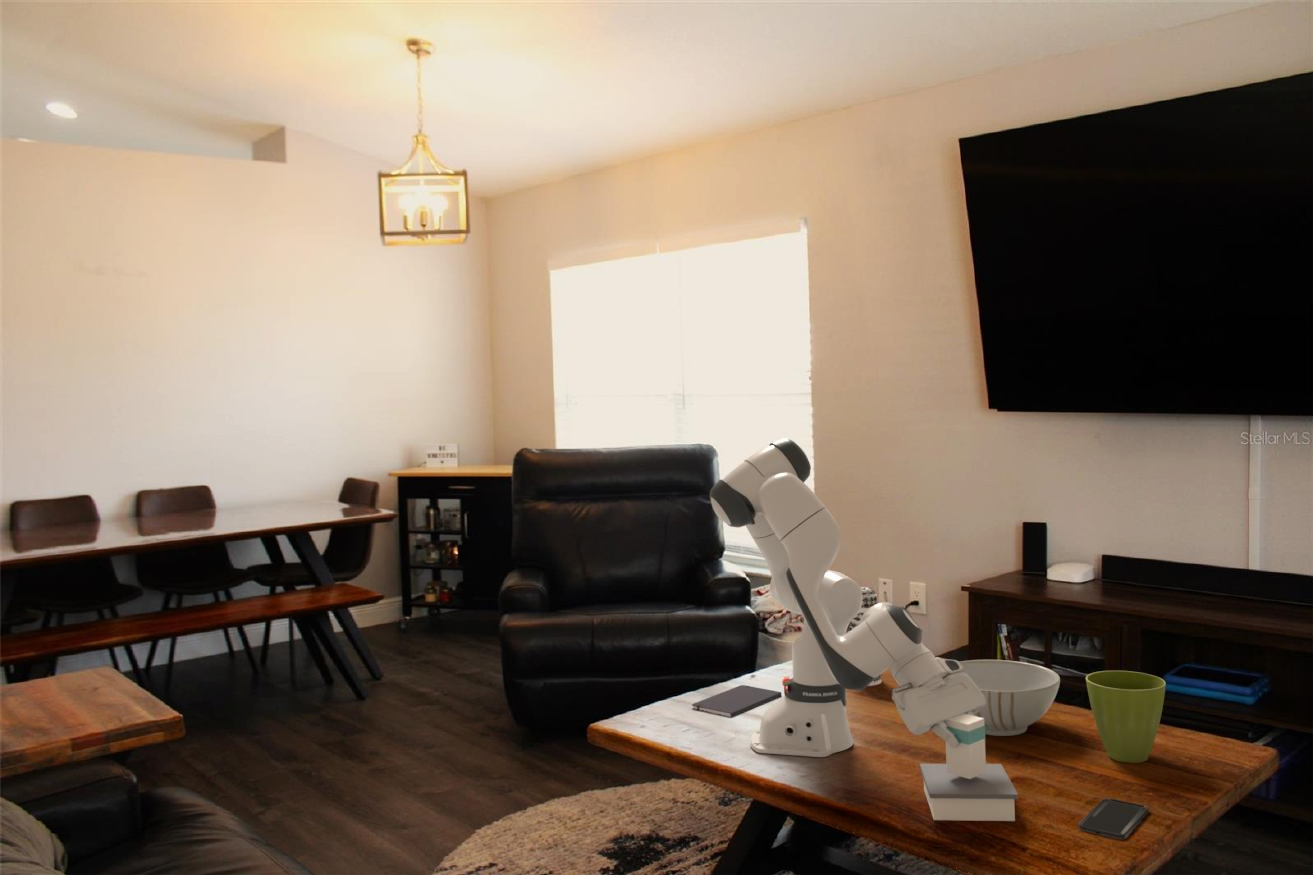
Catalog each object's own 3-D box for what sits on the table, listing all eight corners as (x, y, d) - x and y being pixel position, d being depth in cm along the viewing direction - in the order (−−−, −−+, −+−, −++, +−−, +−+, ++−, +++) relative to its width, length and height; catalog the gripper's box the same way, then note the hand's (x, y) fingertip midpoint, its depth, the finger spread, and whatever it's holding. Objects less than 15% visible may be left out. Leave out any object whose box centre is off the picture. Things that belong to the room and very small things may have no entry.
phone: (1150, 807, 184) (1123, 836, 173) (1150, 813, 184) (1124, 842, 173) (1104, 797, 189) (1075, 824, 178) (1104, 803, 189) (1076, 831, 178)
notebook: (731, 719, 248) (781, 698, 264) (730, 713, 248) (781, 692, 264) (690, 710, 257) (742, 690, 273) (690, 704, 257) (741, 684, 273)
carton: (946, 772, 190) (944, 718, 190) (962, 765, 193) (961, 712, 193) (969, 779, 186) (968, 724, 186) (986, 772, 189) (984, 718, 189)
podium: (930, 821, 184) (929, 793, 183) (920, 789, 199) (919, 763, 198) (1019, 822, 182) (1018, 794, 181) (1001, 789, 197) (1001, 764, 196)
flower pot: (1076, 745, 219) (1074, 671, 218) (1147, 743, 218) (1145, 668, 218) (1105, 771, 204) (1102, 691, 203) (1181, 768, 203) (1179, 688, 203)
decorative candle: (848, 686, 270) (844, 592, 269) (847, 676, 279) (844, 585, 278) (883, 686, 269) (880, 591, 268) (881, 677, 278) (878, 585, 277)
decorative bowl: (984, 754, 216) (982, 697, 215) (914, 719, 241) (912, 667, 241) (1088, 736, 224) (1087, 681, 224) (1010, 703, 250) (1008, 654, 249)
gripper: (896, 680, 188) (943, 746, 181) (963, 659, 201) (1009, 719, 194) (878, 699, 192) (923, 764, 185) (945, 677, 205) (989, 737, 197)
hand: (968, 741), depth 189 cm, fingers closed on carton, 5 cm apart
